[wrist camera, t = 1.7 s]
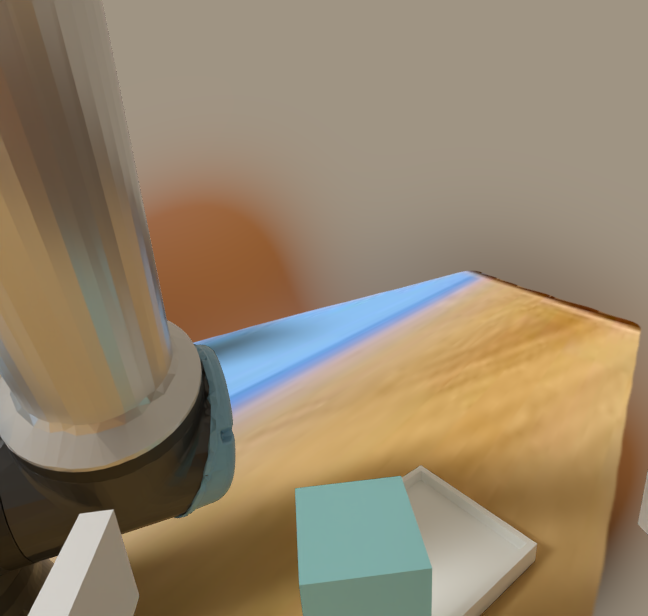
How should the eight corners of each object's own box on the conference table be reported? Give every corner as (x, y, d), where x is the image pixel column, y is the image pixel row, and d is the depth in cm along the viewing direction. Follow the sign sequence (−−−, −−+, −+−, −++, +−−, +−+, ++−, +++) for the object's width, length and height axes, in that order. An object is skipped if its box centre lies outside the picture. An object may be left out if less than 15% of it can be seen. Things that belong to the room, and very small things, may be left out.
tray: (322, 546, 45) (321, 530, 44) (420, 480, 52) (420, 465, 51) (432, 663, 35) (432, 644, 34) (535, 560, 42) (537, 543, 41)
